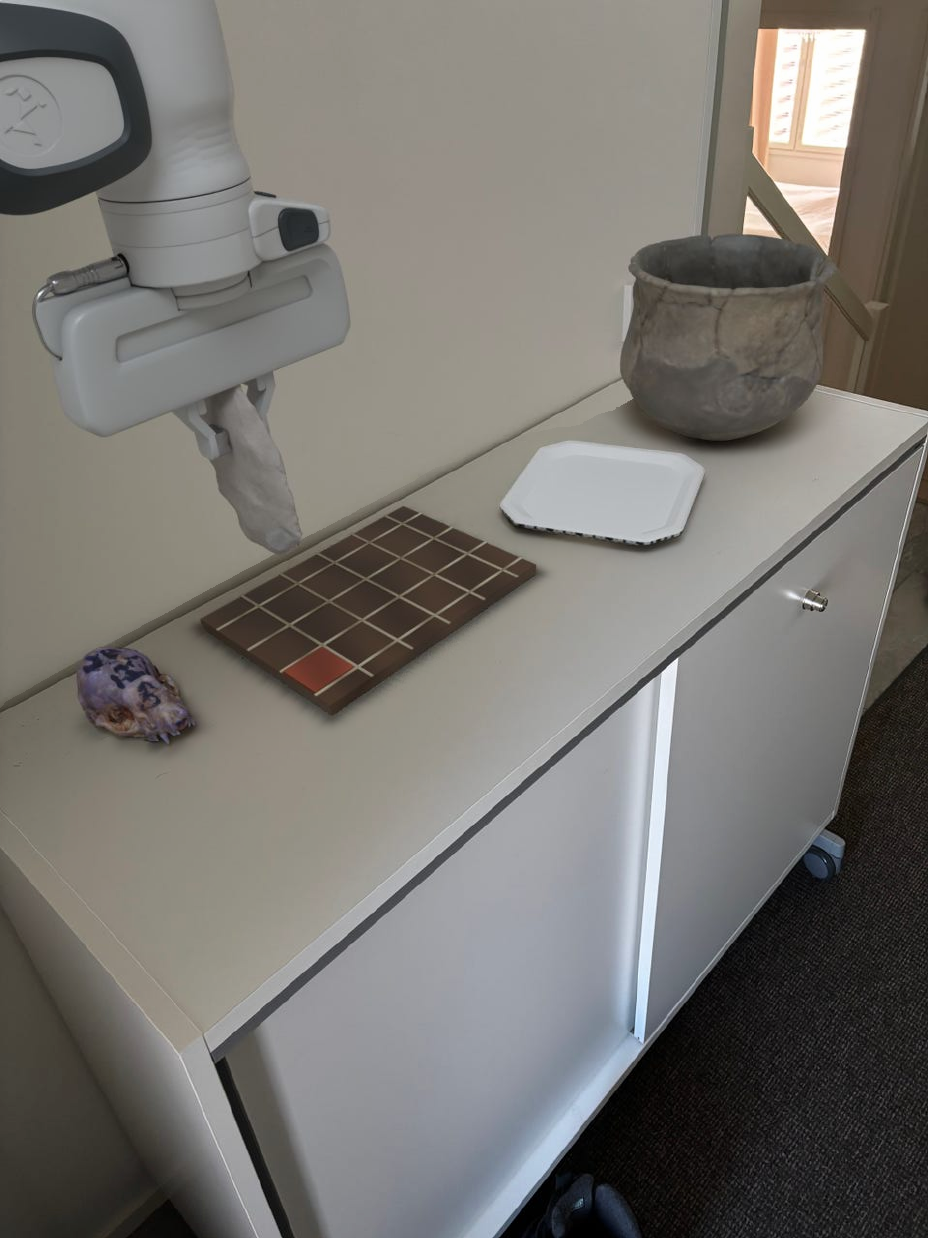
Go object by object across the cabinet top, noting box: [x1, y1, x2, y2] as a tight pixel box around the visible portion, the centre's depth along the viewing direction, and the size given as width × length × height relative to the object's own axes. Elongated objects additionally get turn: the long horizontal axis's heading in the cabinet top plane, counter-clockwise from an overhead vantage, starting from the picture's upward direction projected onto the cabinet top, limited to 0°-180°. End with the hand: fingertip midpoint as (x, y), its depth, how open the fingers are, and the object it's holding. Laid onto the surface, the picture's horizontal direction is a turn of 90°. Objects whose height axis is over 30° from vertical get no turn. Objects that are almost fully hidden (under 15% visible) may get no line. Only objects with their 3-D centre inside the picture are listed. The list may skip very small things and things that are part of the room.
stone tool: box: [199, 384, 304, 557], centre depth 65 cm, size 9×3×15 cm, turn 54°
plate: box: [499, 439, 706, 546], centre depth 106 cm, size 21×21×2 cm
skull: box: [75, 646, 196, 745], centre depth 80 cm, size 12×8×6 cm, turn 45°
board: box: [200, 505, 537, 716], centre depth 93 cm, size 28×20×1 cm
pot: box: [619, 233, 838, 442], centre depth 115 cm, size 25×24×21 cm
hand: (236, 445), depth 64 cm, fingers closed on stone tool, 2 cm apart
